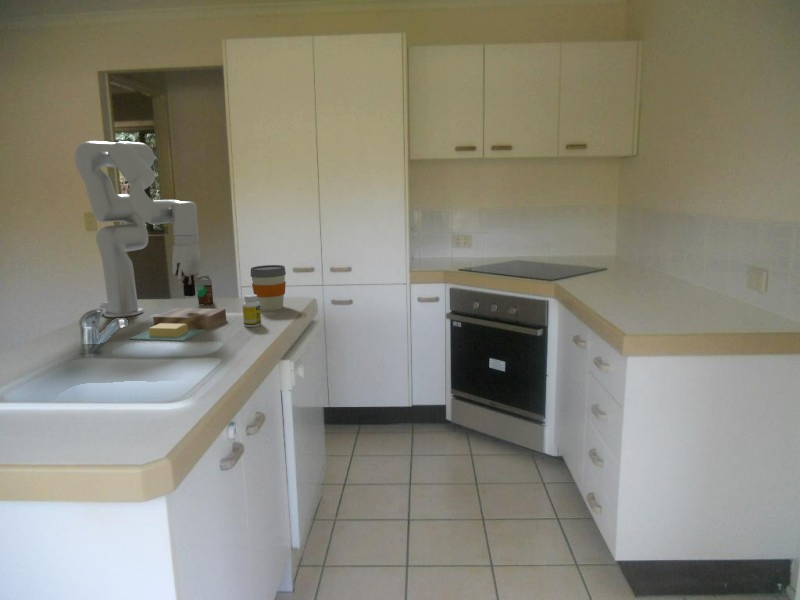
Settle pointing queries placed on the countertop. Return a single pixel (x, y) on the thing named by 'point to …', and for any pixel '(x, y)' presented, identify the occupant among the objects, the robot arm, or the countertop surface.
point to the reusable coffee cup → (269, 286)
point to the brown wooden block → (192, 317)
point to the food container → (204, 290)
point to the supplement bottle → (251, 311)
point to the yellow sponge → (168, 330)
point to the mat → (182, 337)
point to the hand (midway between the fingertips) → (189, 295)
